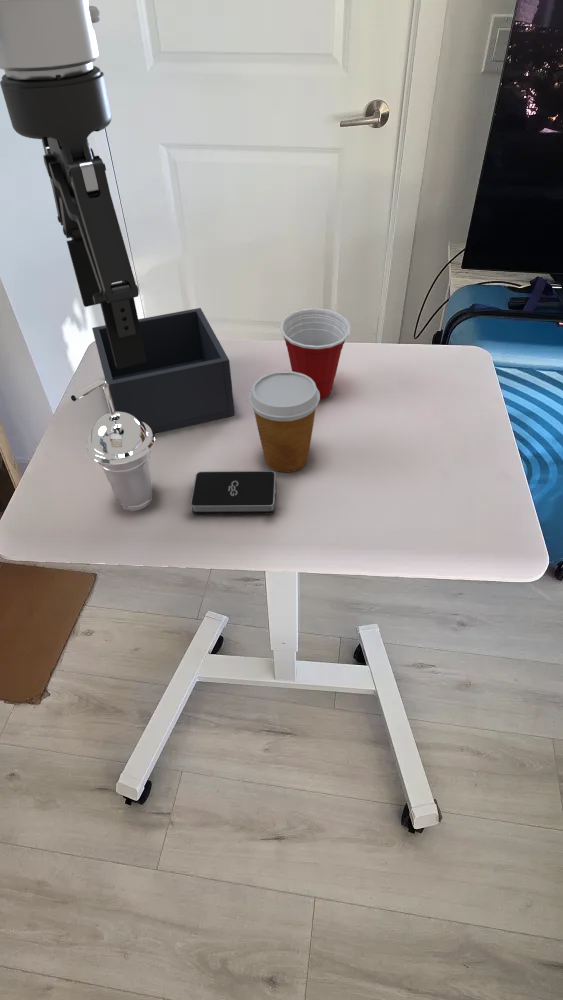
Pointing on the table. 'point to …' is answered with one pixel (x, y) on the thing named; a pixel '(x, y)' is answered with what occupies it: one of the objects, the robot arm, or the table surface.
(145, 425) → the cup with straw
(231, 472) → the external hard drive
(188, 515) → the table surface
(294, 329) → the plastic cup
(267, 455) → the disposable coffee cup
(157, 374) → the bin
